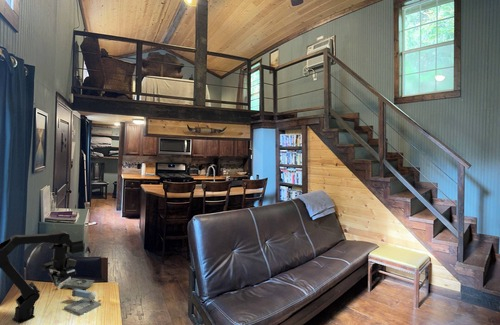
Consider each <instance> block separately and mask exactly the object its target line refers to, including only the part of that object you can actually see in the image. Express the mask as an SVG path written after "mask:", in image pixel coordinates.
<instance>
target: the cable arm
mask: <svg viewBox="0 0 500 325" xmlns="http://www.w3.org/2000/svg"><path fill="white" fill-rule="evenodd" d="M71 291H72V293H71V296H72V297H77V298H80V299H83V298H86V299H89V300H94V301H95V299H96V293H97V292H96V291H95V290H94V291H93V290H91V291H89V290H85V289H77V288H75V289H73V288H72V290H71Z"/></svg>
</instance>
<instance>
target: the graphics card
mask: <svg viewBox="0 0 500 325" xmlns="http://www.w3.org/2000/svg"><path fill="white" fill-rule="evenodd" d="M93 284H95V280H91V279H85V278H76V277H75V278H74V277H72V276H71V277H68V278H65V280H63V281H61V282H60V284H59V286H57V290H58V291H59V290H60V289H72V290H73V289H75V288H77V289H80V290H85V289H86V290H87V289H88V288H90V287H91V286H93Z"/></svg>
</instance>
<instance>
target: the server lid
mask: <svg viewBox="0 0 500 325" xmlns="http://www.w3.org/2000/svg"><path fill="white" fill-rule="evenodd" d="M100 306H102V302H99V301H97V300H95V299H94V300H89V299H86V298H80V299H78V300H76V301H74V302H71V303H69V304H67V305H65V306H64V310H66V311H68V312H71V313H73V314H76V315H79V316H80V315H81V316H83V315H84V313H85V314H87V313H88V312H91V311H92V310H94V309H97V308H99V307H100ZM82 314H83V315H82Z"/></svg>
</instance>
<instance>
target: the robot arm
mask: <svg viewBox="0 0 500 325" xmlns="http://www.w3.org/2000/svg"><path fill="white" fill-rule="evenodd" d="M43 243H45V244H46V243H50V245H49V246H48V247H49V249H50V250H53V254H52V255H53V256H52V257H51V258H50V261H49V262H46V263H43V264H42V265H40V270H41V271H43V272H45V271H47V270H49V272H48V273H47V274H48V275H49V278H50V279H51V281H52V282H53V285H54V287H56V288H58V286H59V284H60V283H62V279H68V278H69V277H71V278H72V277H73V276H76V274H77V270H76V269H75V268H71V267H76V265H77V262H78V260H76V259H74V258H70V256H69V255H76V254H81V253H84V252H85V245H84V240H82V239H78V240H71V239H70V234H69V233H68V232H67V231H65V230H55V231H52V232H48V233H37V234H36V233H35V234H33V233H32V234H14V235H12V236H10V237H9V238H8V239H6V240H4V241H2V242H0V270H1V271H2V272H4V274H5V275H6V276H7V277H8V278H9V280H10V281H11V282H12V283H13V284H14V285H15V287H16V288H17V289H18V290H19V293H20V295H19V296H18V297H17V298H16V299H15V303H16V305H17V306H16V307H15V308H14V317H12V318H11V320H12V321H14V322H17V323H18V324H22V323H25V322H27V321H29V320H32V319H33V318H35V305H36V304H35V303H36V302H37V301H39V298H40V296H41V295H40V292H41V290H40V289H39V288H38V287H37V286H36V285H35V284H34V282H33V281H31V282H30V283H29V282H27V281H26V280H25V279H24V277H23V276H22V275H21V274H20V272H18V271H17V269H16V268H15V267H14V265H13V264H12V263H11V261H10V259H9V256H8V255H10V254H11V253H12V252H13V251H14V250H15V249H16V248H17V247H18V246H19V245H30V244H31V245H32V244H34V245H35V244H43ZM67 254H69V255H67ZM60 285H61V284H60Z"/></svg>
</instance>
